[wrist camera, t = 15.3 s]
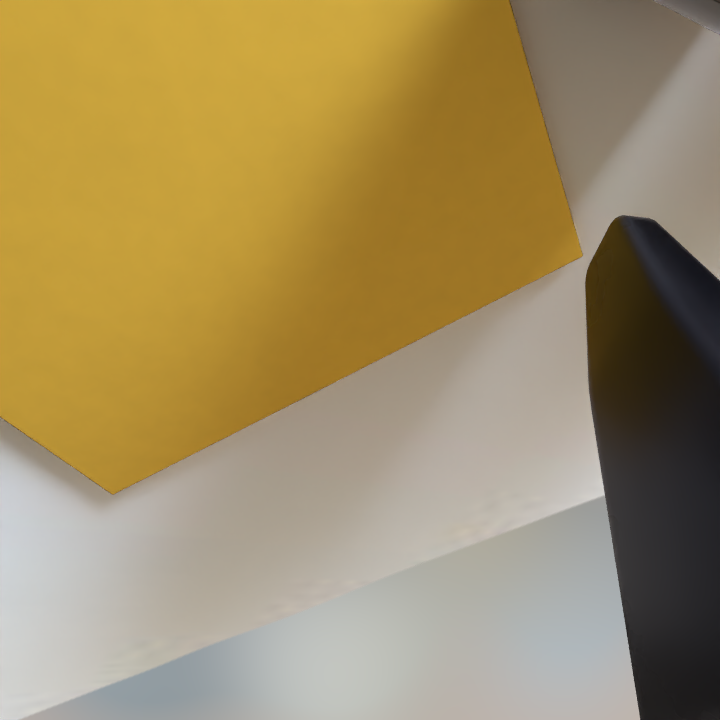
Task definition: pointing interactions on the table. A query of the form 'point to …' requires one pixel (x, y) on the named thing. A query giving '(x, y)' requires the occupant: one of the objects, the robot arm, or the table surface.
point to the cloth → (250, 206)
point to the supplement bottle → (697, 11)
